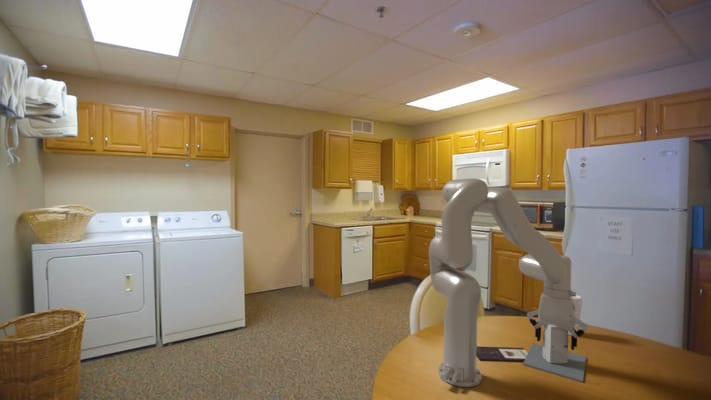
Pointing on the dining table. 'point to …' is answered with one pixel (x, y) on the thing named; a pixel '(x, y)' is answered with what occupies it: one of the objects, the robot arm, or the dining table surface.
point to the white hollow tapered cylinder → (576, 310)
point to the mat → (556, 364)
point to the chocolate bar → (501, 354)
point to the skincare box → (555, 344)
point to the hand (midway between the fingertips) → (555, 343)
